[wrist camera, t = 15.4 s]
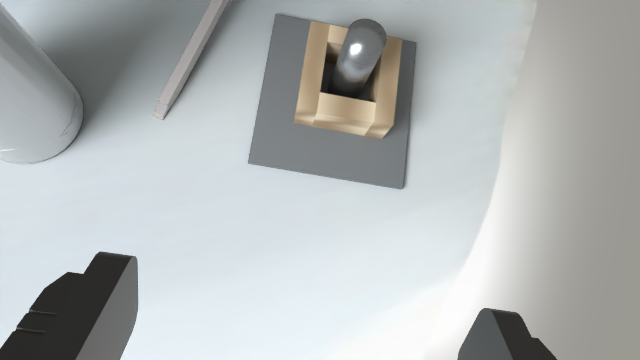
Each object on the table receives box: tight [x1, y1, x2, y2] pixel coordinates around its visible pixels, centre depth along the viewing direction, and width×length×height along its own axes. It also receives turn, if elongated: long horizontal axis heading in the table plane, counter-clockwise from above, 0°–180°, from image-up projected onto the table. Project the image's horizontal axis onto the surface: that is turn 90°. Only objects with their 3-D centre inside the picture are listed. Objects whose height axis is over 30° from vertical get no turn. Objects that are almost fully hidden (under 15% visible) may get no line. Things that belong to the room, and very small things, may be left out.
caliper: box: [153, 0, 232, 120], centre depth 42 cm, size 20×1×6 cm, turn 155°
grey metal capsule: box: [328, 19, 387, 99], centre depth 40 cm, size 3×3×10 cm
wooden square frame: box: [294, 21, 402, 139], centre depth 43 cm, size 9×9×4 cm
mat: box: [248, 14, 416, 189], centre depth 45 cm, size 15×16×1 cm
